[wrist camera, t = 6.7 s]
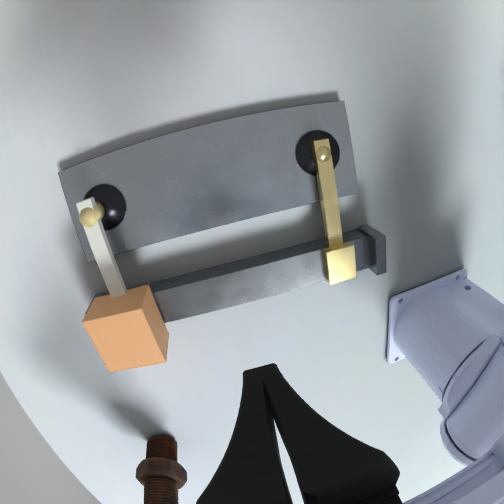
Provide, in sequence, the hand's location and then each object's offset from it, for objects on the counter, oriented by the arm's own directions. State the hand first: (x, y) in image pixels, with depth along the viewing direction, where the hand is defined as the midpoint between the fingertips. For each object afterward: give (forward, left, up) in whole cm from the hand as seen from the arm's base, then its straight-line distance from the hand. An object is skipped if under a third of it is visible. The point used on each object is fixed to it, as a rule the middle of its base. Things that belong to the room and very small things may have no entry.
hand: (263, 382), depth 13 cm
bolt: (+12, +16, -11) cm, 23 cm away
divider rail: (0, -3, -10) cm, 11 cm away
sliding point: (+7, -3, -9) cm, 12 cm away
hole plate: (0, -7, -10) cm, 13 cm away
